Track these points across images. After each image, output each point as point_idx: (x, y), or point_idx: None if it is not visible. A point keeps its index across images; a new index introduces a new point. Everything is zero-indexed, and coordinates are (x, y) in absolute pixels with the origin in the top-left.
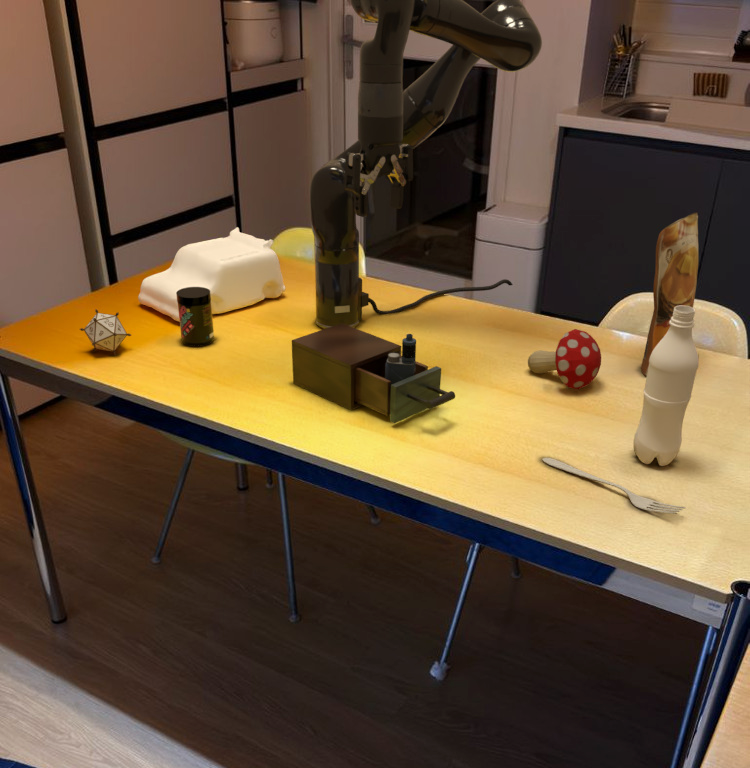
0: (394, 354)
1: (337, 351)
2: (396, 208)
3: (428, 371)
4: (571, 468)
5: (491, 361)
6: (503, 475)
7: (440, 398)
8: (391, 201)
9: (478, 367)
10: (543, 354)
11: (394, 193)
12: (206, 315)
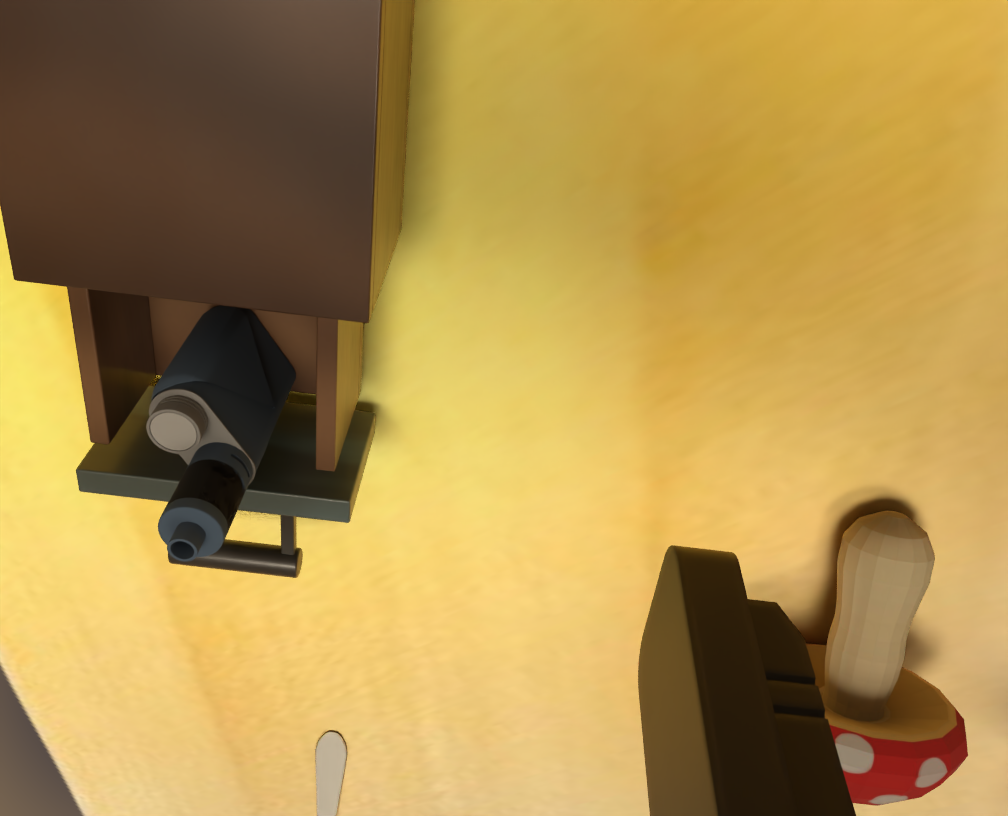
0: (180, 430)
1: (58, 123)
2: (646, 625)
3: (284, 505)
4: (329, 790)
5: (893, 359)
6: (194, 701)
7: (222, 568)
8: (674, 611)
9: (802, 350)
10: (868, 606)
11: (675, 774)
12: None
